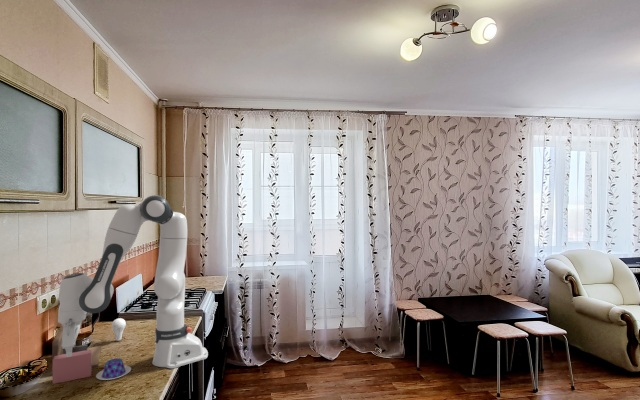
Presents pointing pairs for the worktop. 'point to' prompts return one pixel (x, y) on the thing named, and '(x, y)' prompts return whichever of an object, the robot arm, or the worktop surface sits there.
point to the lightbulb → (118, 328)
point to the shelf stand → (73, 350)
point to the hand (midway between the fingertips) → (70, 351)
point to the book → (72, 366)
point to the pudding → (113, 369)
